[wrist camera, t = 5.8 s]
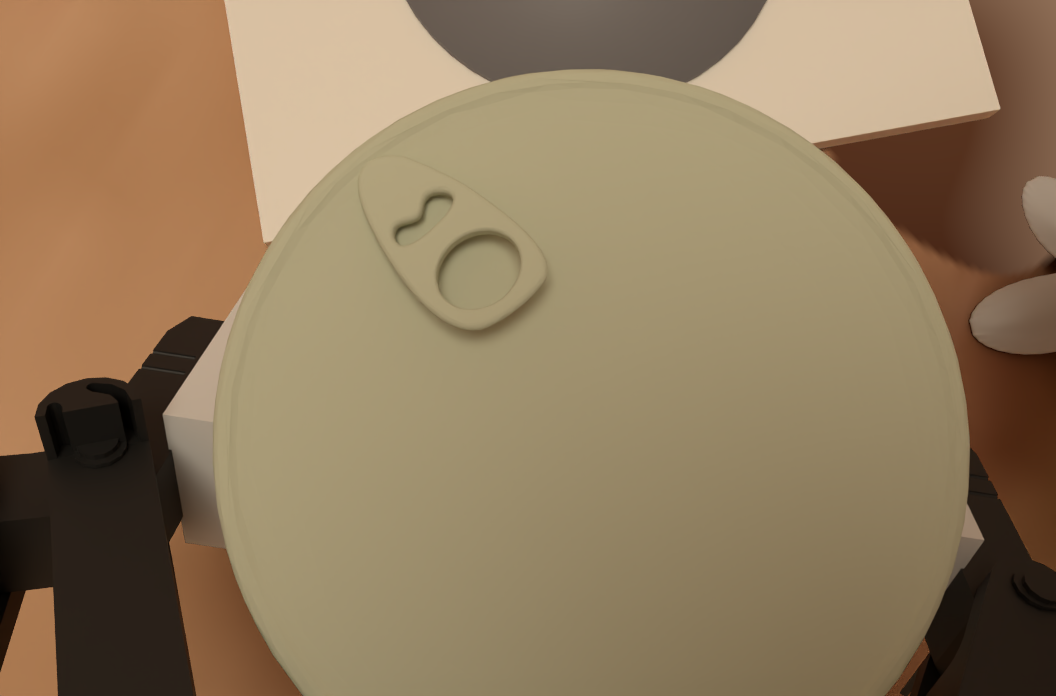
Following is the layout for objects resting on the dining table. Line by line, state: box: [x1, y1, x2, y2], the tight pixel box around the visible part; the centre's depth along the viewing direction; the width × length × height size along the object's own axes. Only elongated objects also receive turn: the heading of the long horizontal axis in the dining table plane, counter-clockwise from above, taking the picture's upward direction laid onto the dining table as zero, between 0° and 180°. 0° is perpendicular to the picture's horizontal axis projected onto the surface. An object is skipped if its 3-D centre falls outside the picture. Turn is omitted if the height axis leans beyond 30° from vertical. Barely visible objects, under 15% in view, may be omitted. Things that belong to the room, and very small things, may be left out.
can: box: [213, 69, 970, 696], centre depth 15 cm, size 9×9×12 cm
